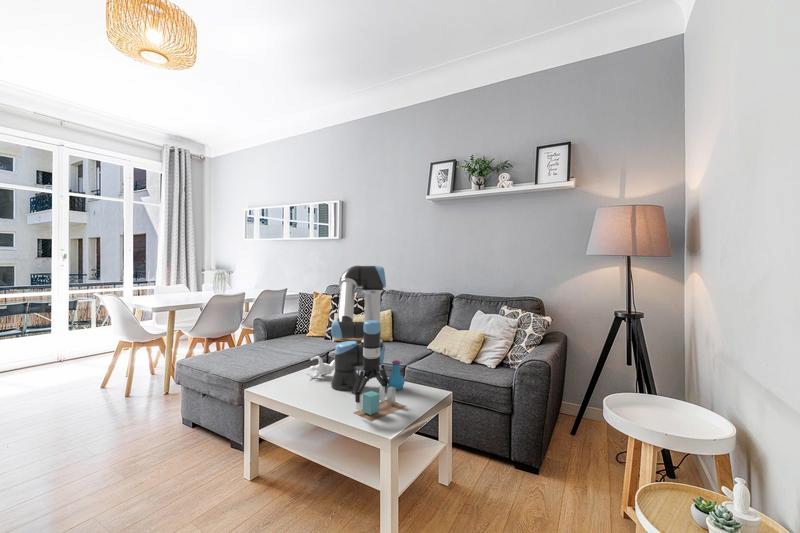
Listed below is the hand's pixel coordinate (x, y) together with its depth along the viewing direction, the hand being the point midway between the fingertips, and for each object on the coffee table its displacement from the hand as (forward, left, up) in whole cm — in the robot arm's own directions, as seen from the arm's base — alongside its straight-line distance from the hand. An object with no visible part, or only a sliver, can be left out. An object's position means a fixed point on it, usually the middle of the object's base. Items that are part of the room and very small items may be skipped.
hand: (370, 405), depth 159 cm
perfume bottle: (-14, +31, -5) cm, 34 cm away
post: (0, +13, -4) cm, 14 cm away
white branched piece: (-58, +17, -5) cm, 60 cm away
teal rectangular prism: (0, 0, -3) cm, 3 cm away
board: (0, +6, -5) cm, 8 cm away
